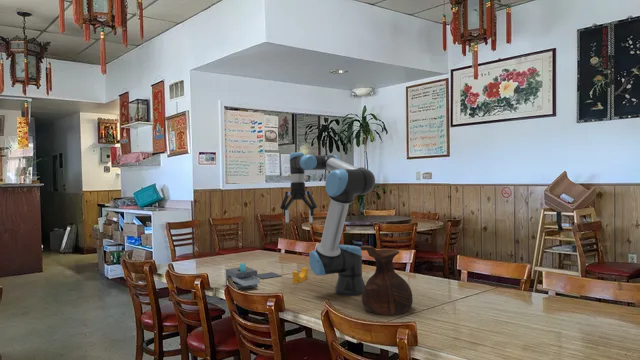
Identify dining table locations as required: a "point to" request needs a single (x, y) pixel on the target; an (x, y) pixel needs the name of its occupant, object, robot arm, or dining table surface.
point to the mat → (268, 275)
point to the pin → (243, 267)
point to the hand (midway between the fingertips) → (299, 222)
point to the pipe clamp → (300, 275)
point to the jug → (385, 286)
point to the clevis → (243, 277)
